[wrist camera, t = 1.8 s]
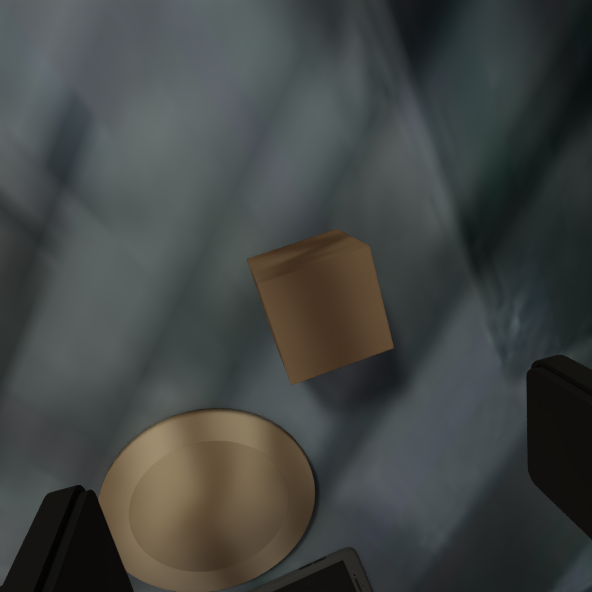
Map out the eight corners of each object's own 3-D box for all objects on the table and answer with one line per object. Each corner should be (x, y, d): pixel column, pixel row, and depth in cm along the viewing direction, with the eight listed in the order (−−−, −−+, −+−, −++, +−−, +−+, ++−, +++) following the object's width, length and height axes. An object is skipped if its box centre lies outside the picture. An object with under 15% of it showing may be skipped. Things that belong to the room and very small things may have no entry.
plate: (279, 377, 30) (281, 383, 30) (334, 537, 35) (337, 546, 35) (60, 456, 29) (56, 465, 28) (150, 610, 34) (148, 621, 33)
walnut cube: (336, 228, 28) (369, 245, 23) (358, 312, 30) (393, 347, 25) (246, 258, 28) (257, 284, 22) (275, 342, 30) (291, 385, 24)
